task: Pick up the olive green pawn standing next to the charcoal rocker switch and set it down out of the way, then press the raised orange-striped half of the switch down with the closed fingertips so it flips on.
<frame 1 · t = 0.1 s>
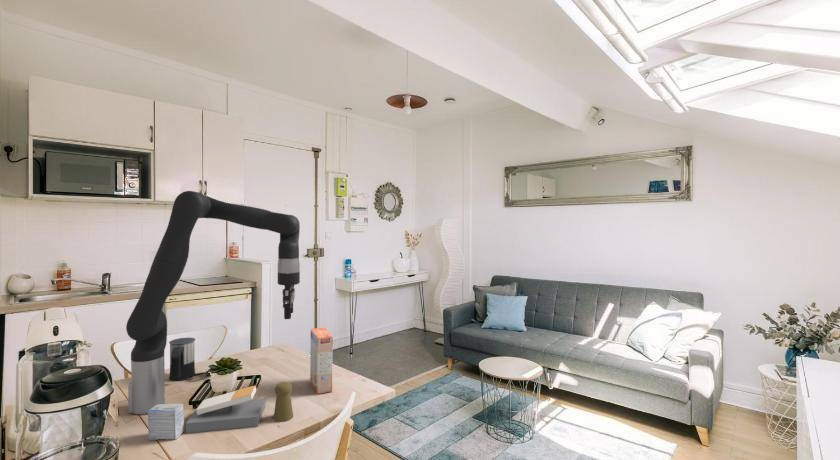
hand: (288, 315, 141), 29 cm above the table, tool pointing down, fingers open, 8 cm apart
medicine box: (166, 436, 116), on the table
cracker box: (321, 386, 151), on the table
rocker switch: (227, 399, 125), point 6 cm above the table, hinge at -12.0°
milk frother: (192, 377, 159), on the table
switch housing: (228, 419, 126), on the table
olive green pawn: (283, 417, 127), on the table
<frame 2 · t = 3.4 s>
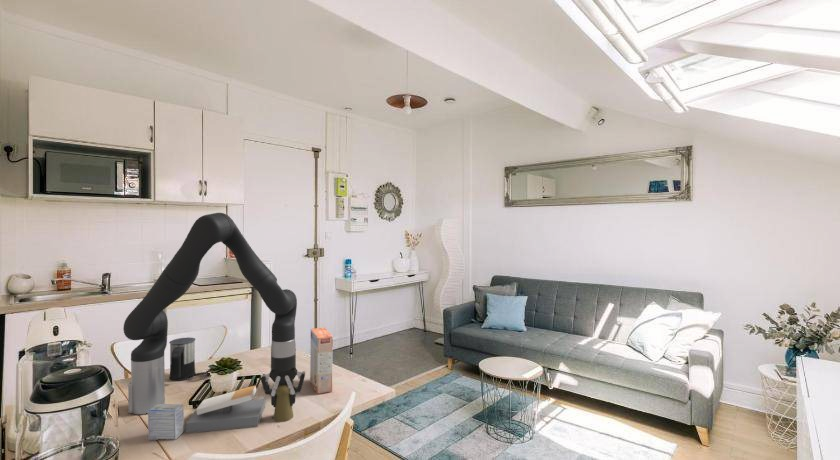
hand: (283, 405, 127), 4 cm above the table, tool pointing down, fingers closed on olive green pawn, 4 cm apart
olive green pawn: (283, 417, 127), on the table, touching gripper
everything else where it was.
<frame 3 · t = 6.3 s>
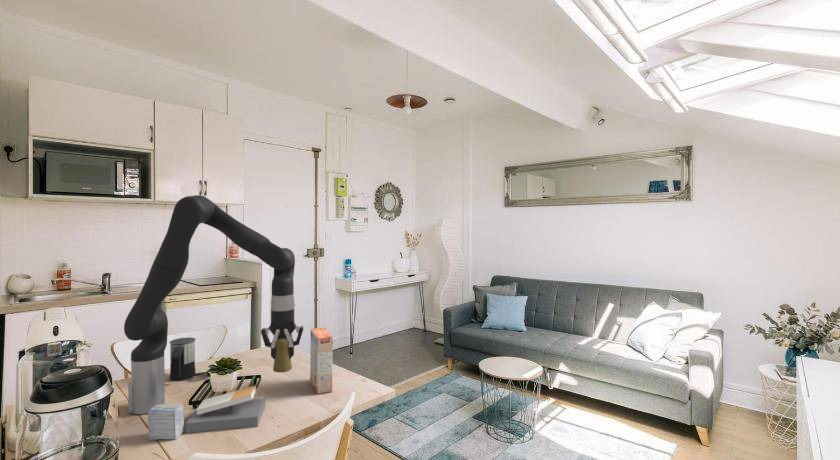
hand: (282, 357, 133), 17 cm above the table, tool pointing down, fingers closed on olive green pawn, 4 cm apart
olive green pawn: (282, 369, 133), point 13 cm above the table, touching gripper
everything else where it was.
when the fingers open (4 cm above the table, at t = 9.3 s): olive green pawn stays where it is, on the table.
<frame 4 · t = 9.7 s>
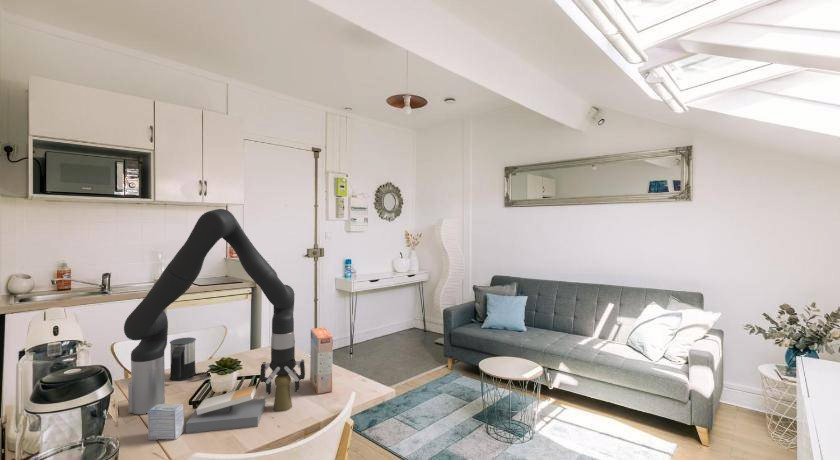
hand: (283, 392, 134), 5 cm above the table, tool pointing down, fingers open, 8 cm apart
olive green pawn: (282, 407, 134), on the table
everything else where it was.
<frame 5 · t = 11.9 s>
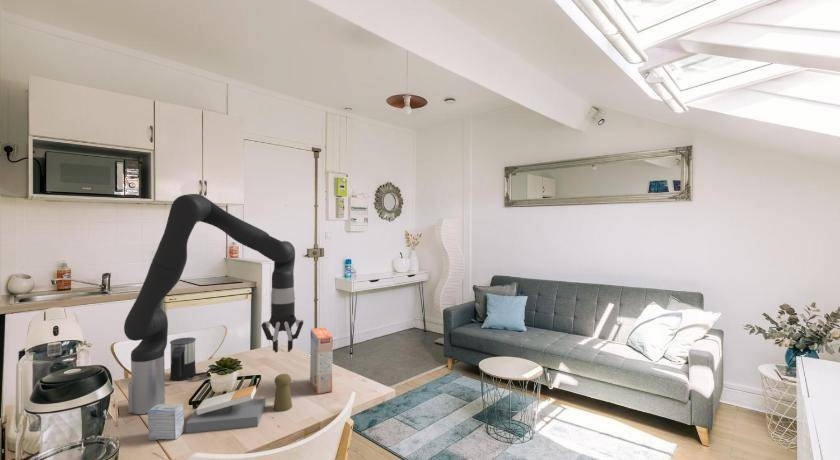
hand: (282, 351, 133), 19 cm above the table, tool pointing down, fingers open, 3 cm apart
nothing on the table moved.
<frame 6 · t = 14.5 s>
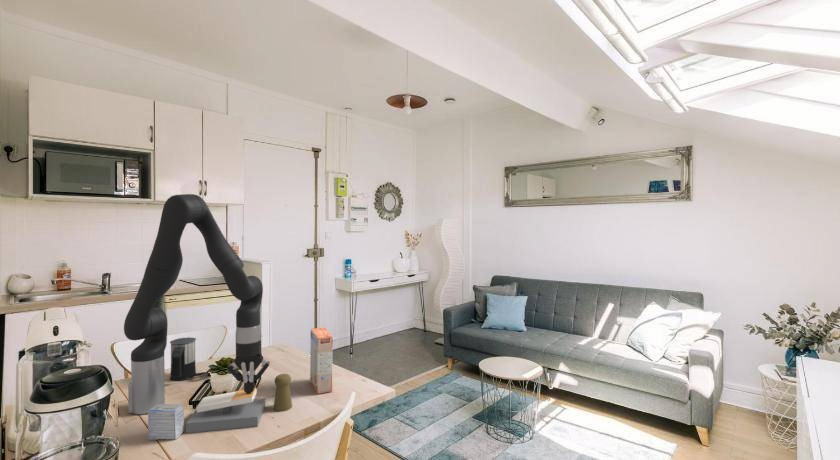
hand: (249, 392, 127), 8 cm above the table, tool pointing down, fingers closed
rocker switch: (227, 399, 125), point 6 cm above the table, hinge at -6.5°, touching gripper
everything else where it was.
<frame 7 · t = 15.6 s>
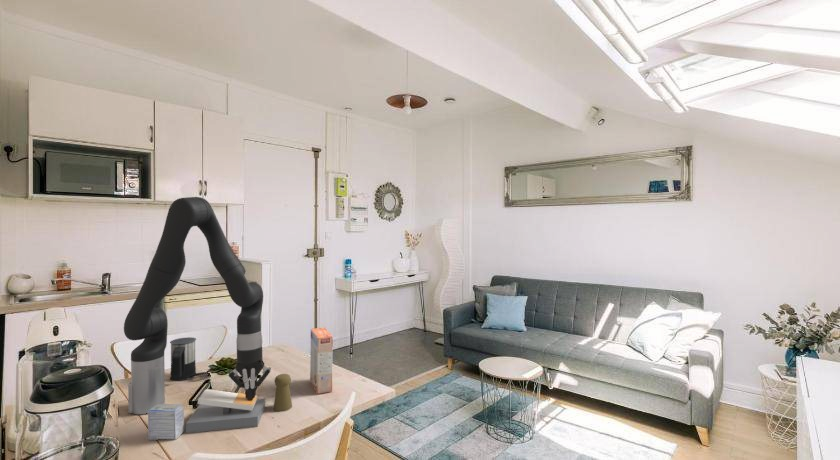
hand: (250, 399, 127), 6 cm above the table, tool pointing down, fingers closed
rocker switch: (228, 399, 126), point 6 cm above the table, hinge at 12.8°, touching gripper
everything else where it was.
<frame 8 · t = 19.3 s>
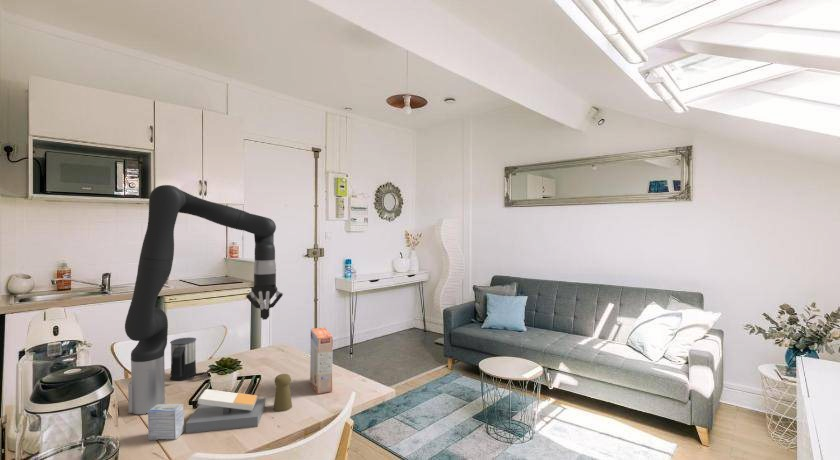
hand: (265, 319, 145), 27 cm above the table, tool pointing down, fingers closed
rocker switch: (228, 399, 126), point 6 cm above the table, hinge at 12.9°
everything else where it was.
at the end: rocker switch at +13° (first picture: -12°); olive green pawn inside the target area (0.1 cm from its centre), on the table; olive green pawn tilted 0° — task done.
